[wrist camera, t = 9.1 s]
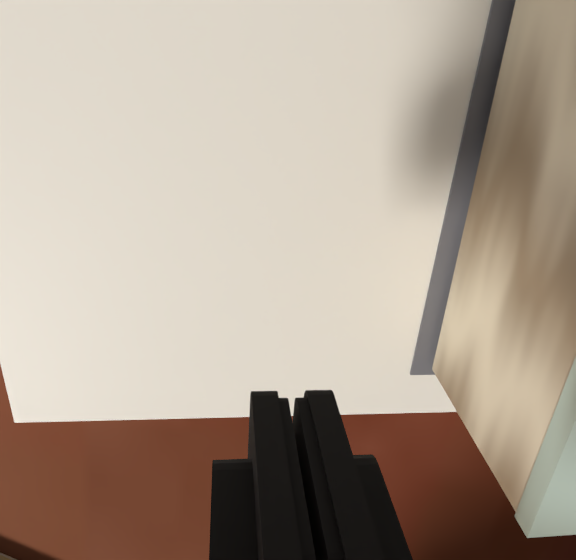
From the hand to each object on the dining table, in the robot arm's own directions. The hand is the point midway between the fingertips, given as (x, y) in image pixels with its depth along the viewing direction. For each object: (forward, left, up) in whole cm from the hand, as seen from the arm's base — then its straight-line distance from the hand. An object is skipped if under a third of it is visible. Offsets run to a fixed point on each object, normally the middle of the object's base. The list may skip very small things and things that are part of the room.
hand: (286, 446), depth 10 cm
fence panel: (+3, -7, -6) cm, 10 cm away
